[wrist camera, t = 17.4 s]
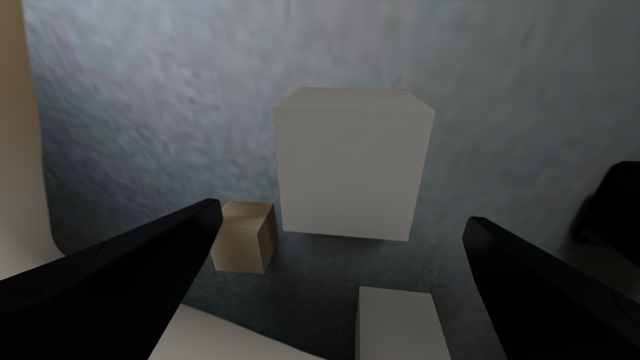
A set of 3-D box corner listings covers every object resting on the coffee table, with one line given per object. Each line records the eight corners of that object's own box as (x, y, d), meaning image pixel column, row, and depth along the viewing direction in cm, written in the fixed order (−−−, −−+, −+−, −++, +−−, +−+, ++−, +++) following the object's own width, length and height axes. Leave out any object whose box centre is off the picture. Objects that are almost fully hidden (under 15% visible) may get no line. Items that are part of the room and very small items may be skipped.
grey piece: (406, 89, 16) (435, 111, 10) (392, 182, 19) (408, 241, 13) (302, 87, 16) (272, 107, 11) (304, 177, 19) (283, 230, 14)
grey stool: (430, 293, 23) (455, 372, 18) (418, 335, 26) (435, 415, 21) (359, 286, 24) (360, 359, 18) (355, 328, 27) (354, 402, 21)
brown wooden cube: (273, 202, 21) (256, 233, 17) (278, 241, 23) (264, 276, 19) (228, 200, 21) (203, 230, 18) (237, 238, 23) (216, 271, 20)
